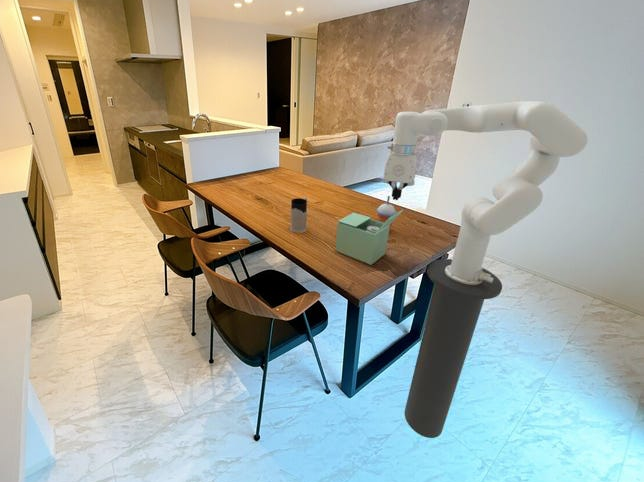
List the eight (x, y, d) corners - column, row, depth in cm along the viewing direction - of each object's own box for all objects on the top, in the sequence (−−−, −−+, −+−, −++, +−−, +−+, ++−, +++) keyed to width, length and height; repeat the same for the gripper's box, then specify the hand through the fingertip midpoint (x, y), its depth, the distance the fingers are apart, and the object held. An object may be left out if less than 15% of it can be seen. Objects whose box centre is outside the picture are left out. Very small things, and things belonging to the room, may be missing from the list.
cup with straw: (371, 230, 147) (376, 197, 139) (377, 223, 154) (382, 191, 146) (390, 235, 142) (396, 201, 134) (395, 228, 149) (401, 195, 141)
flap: (390, 223, 121) (390, 223, 121) (375, 232, 113) (376, 233, 112) (402, 209, 116) (403, 209, 115) (388, 218, 107) (389, 219, 107)
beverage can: (360, 255, 123) (364, 229, 118) (362, 249, 128) (367, 224, 124) (375, 259, 121) (381, 233, 116) (378, 253, 126) (383, 227, 121)
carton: (385, 253, 126) (390, 223, 121) (371, 265, 118) (375, 232, 112) (350, 240, 137) (353, 212, 132) (335, 250, 129) (337, 220, 123)
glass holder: (286, 230, 148) (287, 202, 141) (298, 219, 159) (298, 193, 152) (303, 234, 144) (304, 206, 137) (313, 222, 155) (314, 195, 149)
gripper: (378, 149, 104) (372, 198, 111) (425, 152, 96) (416, 205, 103) (383, 146, 110) (377, 193, 117) (428, 149, 102) (419, 199, 109)
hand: (395, 198), depth 110 cm, fingers closed
